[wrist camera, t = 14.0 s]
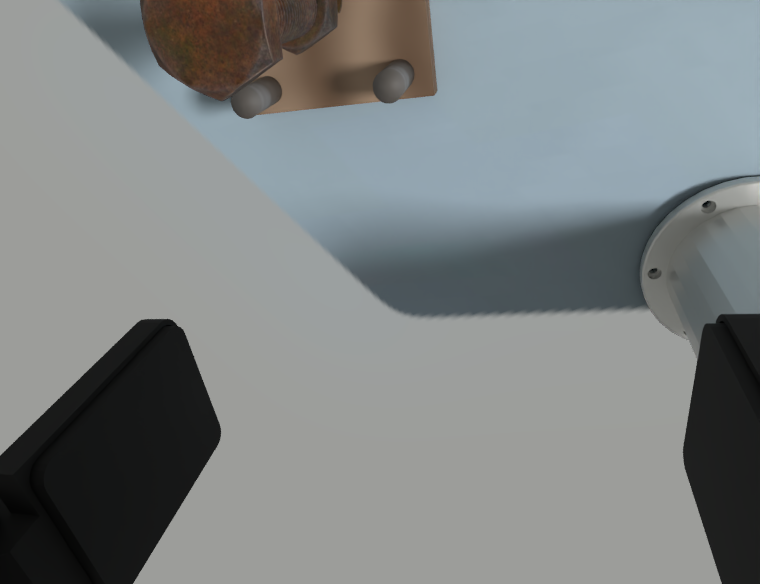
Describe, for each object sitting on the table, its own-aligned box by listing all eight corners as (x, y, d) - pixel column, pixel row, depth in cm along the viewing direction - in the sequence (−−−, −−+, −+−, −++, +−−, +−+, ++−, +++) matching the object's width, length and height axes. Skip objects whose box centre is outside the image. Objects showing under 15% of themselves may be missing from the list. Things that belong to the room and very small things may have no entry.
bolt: (306, 62, 36) (193, 121, 24) (259, -12, 34) (110, 8, 22) (380, 9, 34) (298, 43, 21) (333, -75, 32) (212, -92, 19)
